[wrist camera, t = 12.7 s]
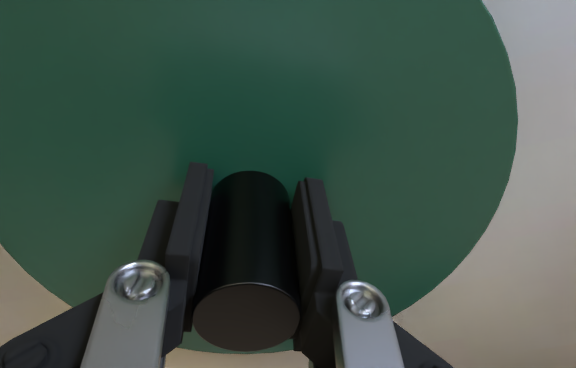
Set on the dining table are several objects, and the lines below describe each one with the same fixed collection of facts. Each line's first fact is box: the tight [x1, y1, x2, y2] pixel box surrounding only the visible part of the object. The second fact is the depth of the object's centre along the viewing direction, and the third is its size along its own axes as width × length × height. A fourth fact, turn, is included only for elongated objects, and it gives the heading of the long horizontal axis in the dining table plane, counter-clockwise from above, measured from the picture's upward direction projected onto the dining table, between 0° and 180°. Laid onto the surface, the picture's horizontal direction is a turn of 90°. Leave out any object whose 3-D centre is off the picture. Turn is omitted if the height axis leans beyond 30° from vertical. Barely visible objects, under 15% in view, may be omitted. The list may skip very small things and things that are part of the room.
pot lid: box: [0, 0, 518, 354], centre depth 12 cm, size 17×17×6 cm
